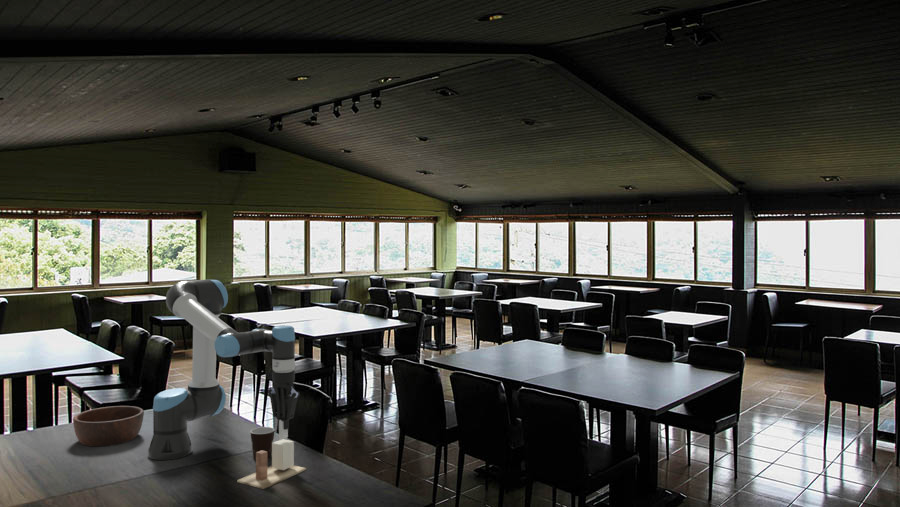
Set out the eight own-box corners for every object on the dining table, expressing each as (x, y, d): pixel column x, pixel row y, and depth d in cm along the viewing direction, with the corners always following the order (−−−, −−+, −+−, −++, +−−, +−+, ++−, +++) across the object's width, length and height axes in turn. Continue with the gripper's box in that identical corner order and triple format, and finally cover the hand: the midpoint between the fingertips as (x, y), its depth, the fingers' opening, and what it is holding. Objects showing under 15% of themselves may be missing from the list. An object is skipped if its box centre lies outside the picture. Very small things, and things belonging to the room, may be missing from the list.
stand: (237, 481, 209) (237, 453, 209) (280, 463, 227) (280, 437, 226) (263, 489, 203) (263, 459, 203) (305, 469, 221) (306, 442, 221)
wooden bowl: (156, 436, 256) (156, 411, 256) (94, 453, 235) (94, 426, 235) (122, 426, 270) (122, 402, 270) (60, 441, 249) (60, 415, 249)
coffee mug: (267, 462, 228) (267, 434, 228) (245, 460, 230) (245, 433, 229) (282, 451, 239) (282, 425, 239) (261, 450, 241) (261, 424, 241)
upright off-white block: (271, 467, 218) (272, 442, 218) (282, 463, 223) (282, 438, 223) (283, 470, 216) (283, 445, 216) (293, 465, 220) (293, 441, 220)
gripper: (261, 370, 218) (261, 438, 219) (290, 374, 212) (289, 444, 213) (277, 366, 225) (277, 432, 225) (305, 370, 219) (305, 438, 219)
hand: (283, 438), depth 219 cm, fingers closed
